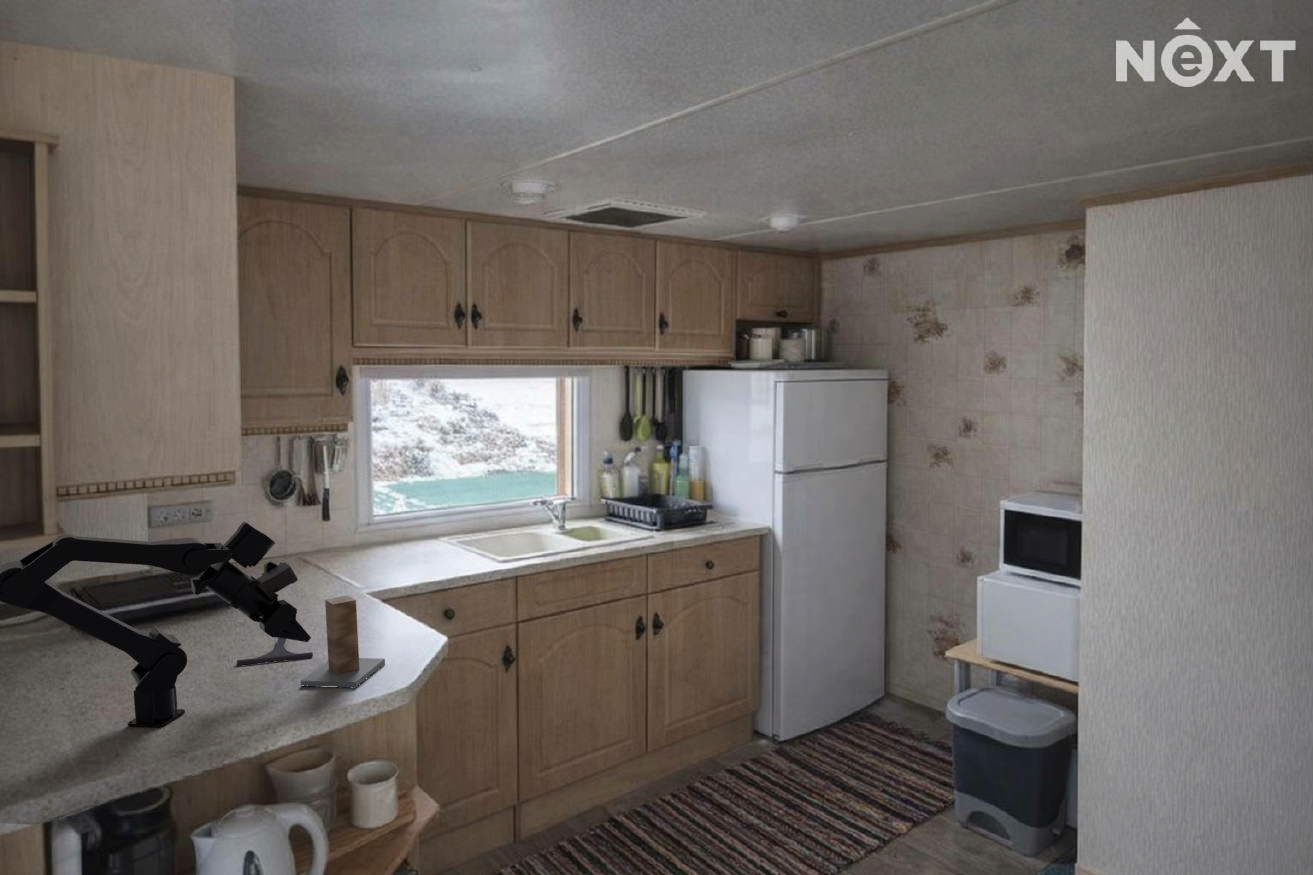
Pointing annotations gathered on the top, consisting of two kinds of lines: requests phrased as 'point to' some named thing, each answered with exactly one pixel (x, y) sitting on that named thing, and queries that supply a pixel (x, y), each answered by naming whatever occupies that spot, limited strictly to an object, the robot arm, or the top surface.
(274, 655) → the squeegee
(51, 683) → the top surface
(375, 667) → the far plate
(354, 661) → the walnut block
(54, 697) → the top surface
